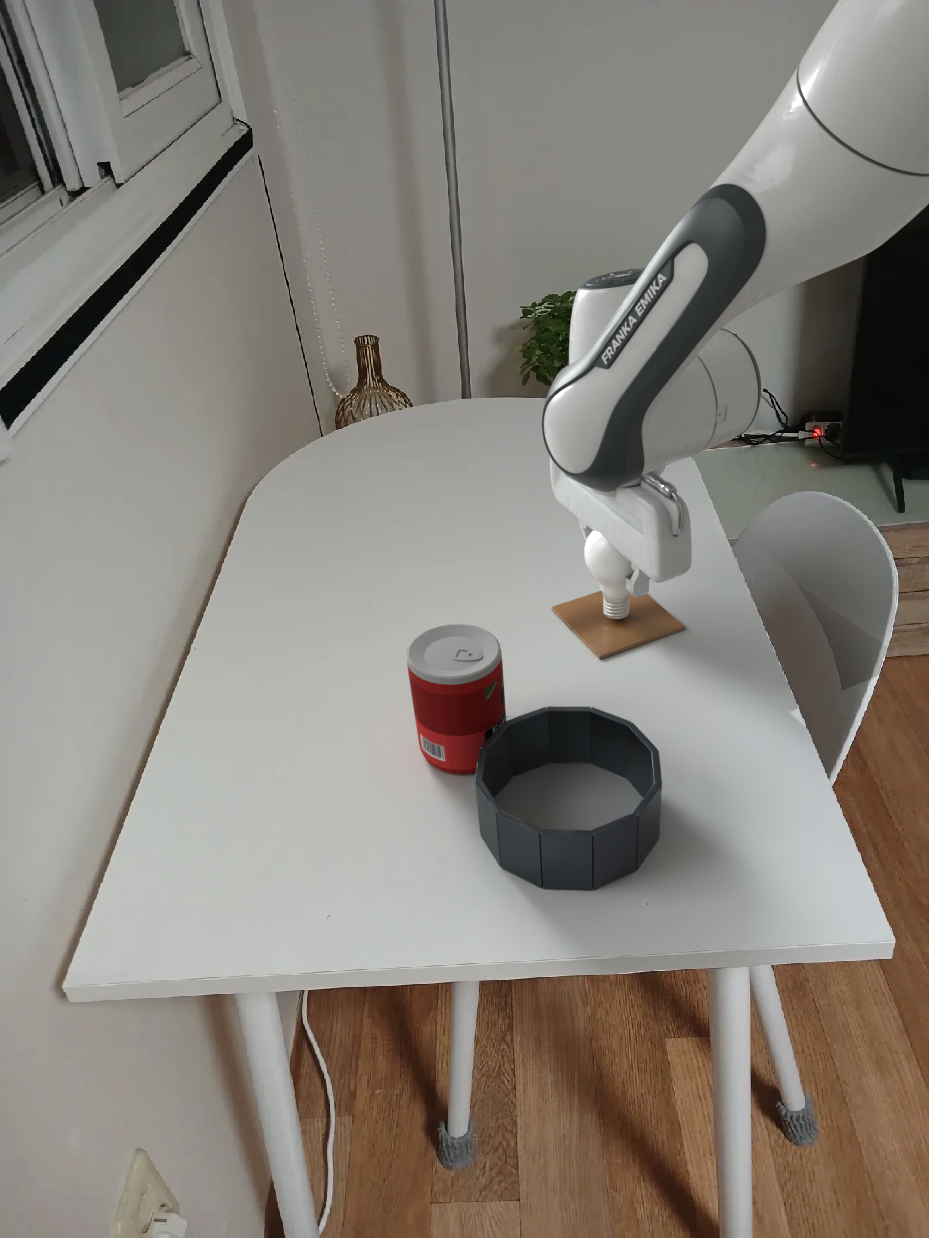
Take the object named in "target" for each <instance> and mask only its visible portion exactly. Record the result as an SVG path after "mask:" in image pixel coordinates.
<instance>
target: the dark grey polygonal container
mask: <svg viewBox="0 0 929 1238" xmlns="http://www.w3.org/2000/svg"><path fill="white" fill-rule="evenodd" d="M547 764H591V765H592V766H595V767H597V768H600V769H603V770H605V771H607V772H610V773H612V774H614V775H617V776H620V777H622V778H625V779H626V780H627V781H628V782H629V784H631V786H632V787H633V788H634V789H635V790H636V792H637V793H638V795H640V796H641V797H642V799H641V800H640V802H639V803H638V804H637V805H636V807H635V809H634V810H633V811H632V812H631V813H628V814H626V815H624V816H621V817H619V818H616V819H613V820H612V821H609V822H606V823H605V824H602V825H599V826H597V827H595V828H592V829H566V828H564V829H563V828H541V827H539V826H537V825H535V824H533V823H531V822H528V821H526V820H524V819H522V818H520V817H518V816H516V815H513V814H511V813H510V812H507V811H505V810H503V809H502V808H501V806H500V804H499V803H498V801H496V799H495V798H496V797H497V796H498V795H499V794H500V792H502V790H503V789H504V788H505V787H506V786H507V785H508V784H509V782H510V781H511V780H512V779H513V778H514V777H516V776H519V775H522V774H524V773H528V772H529V771H532V770H534V769H537V768H540V767H542V766H545V765H547ZM662 779H663V778H662V769H661V757H660V750H659V749H658V748H657V747H656V746H655V745H654V744H653V743H652V741H651V740H650V739H649V738H648V737H647V736H646V735H645V734H644V733H643V732H642V731H641V730H640V728H639V727H638V726H637V725H636V724H635V723H634V722H632V721H631V720H629V719H626V718H623V717H620V716H618V715H615V714H612V713H611V712H607V711H604V710H602V709H599V708H596V707H594V706H551V705H549V706H543V707H541V708H538V709H535V710H533V711H529V712H526V713H524V714H521V715H519V716H516V717H513V718H510V719H506V722H504V723H503V724H502V725H501V726H500V727H499V728H498V729H497V731H496V732H495V733H494V734H493V735H492V736H491V737H490V738H489V739H488V740H487V741H486V742H485V743H484V744H483V745H482V746H481V747H480V749H479V753H478V761H477V768H476V773H475V776H474V786H475V787H474V788H475V797H476V798H475V799H476V806H477V807H476V808H477V817H478V826H479V834H480V838H481V839H482V840H483V842H484V843H485V845H486V847H487V848H488V850H489V852H490V853H491V856H492V857H493V858H494V860H495V861H496V863H497V864H498V866H499V867H500V868H501V869H502V870H504V871H506V872H507V873H510V874H512V875H513V876H515V877H518V878H520V879H521V880H524V881H525V882H527V883H530V884H532V885H534V886H536V887H537V888H540V889H543V890H563V891H596V890H598V889H600V888H602V887H604V886H607V885H609V884H611V883H613V882H616V881H618V880H620V879H623V878H625V877H627V876H630V875H632V874H634V873H636V872H637V871H638V870H639V869H640V867H641V866H642V864H643V863H644V861H645V860H646V859H647V857H648V856H649V854H650V853H651V851H652V850H653V849H654V847H655V846H656V845H657V843H658V841H659V839H660V831H661V830H660V828H661V811H662V810H661V809H662V795H663V794H662V792H663V780H662Z"/></svg>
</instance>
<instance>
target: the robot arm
mask: <svg viewBox="0 0 929 1238" xmlns="http://www.w3.org/2000/svg"><path fill="white" fill-rule="evenodd" d="M928 205H929V0H837V2H836V3H835V5H834V6H833V9H832V10H831V12H830V13H829V14H828V16H827V18H826V19H825V20H824V22H823V24H822V25H821V27H820V28H819V30H818V31H817V33H816V34H815V36H814V38H813V39H812V41H811V42H810V45H809V47H808V48H807V49H806V51H805V53H804V55H803V56H802V58H801V60H800V61H799V63H798V65H797V67H795V70H794V72H793V74H792V75H791V76H790V78H789V80H788V81H787V83H786V85H785V86H784V88H783V89H782V91H781V93H780V94H779V96H778V98H777V99H776V100H775V102H774V104H773V105H772V106H771V108H770V109H769V110H768V112H767V114H766V115H765V116H764V118H763V119H762V120H761V122H760V123H759V125H758V127H757V128H756V129H755V131H754V132H753V133H752V134H751V136H750V137H749V139H748V140H747V141H746V143H745V144H744V146H743V147H742V148H741V150H740V151H739V152H738V154H737V155H736V156H735V157H734V159H732V161H731V162H730V163H729V165H727V167H726V168H725V169H724V170H723V172H722V173H721V174H720V175H719V176H718V177H717V179H715V181H714V182H713V183H712V184H711V185H710V187H709V188H708V189H707V190H706V192H704V193H703V194H701V196H700V198H699V199H697V201H696V202H695V203H694V204H693V205H692V207H691V208H690V209H689V210H688V211H687V212H686V213H685V215H684V216H683V217H682V218H681V219H680V220H679V222H678V223H677V224H676V225H675V227H674V228H673V229H672V230H671V232H670V233H669V234H668V235H667V237H666V238H665V240H664V241H663V242H662V244H661V245H660V246H659V248H658V249H657V251H656V252H655V253H654V255H653V256H652V258H651V259H650V261H649V263H647V265H646V267H642V268H629V269H627V270H620V271H619V270H617V271H613V272H609V273H605V274H602V275H601V274H600V275H598V276H596V277H592V278H590V279H588V280H587V281H585V282H584V283H583V284H581V285H580V287H579V288H578V289H577V291H576V294H575V296H574V300H573V304H572V308H571V309H572V310H571V316H570V326H569V341H568V342H569V345H568V365H566V366H564V367H563V368H562V369H561V370H560V371H559V372H558V373H557V374H556V376H555V377H554V379H553V381H552V383H551V385H550V387H549V390H548V393H547V395H546V398H545V401H544V405H543V406H544V407H543V411H542V415H541V433H542V439H543V442H544V445H545V449H546V451H547V453H548V455H549V473H550V484H551V488H552V492H553V494H554V497H555V500H556V501H557V502H558V503H559V504H561V505H562V506H563V508H565V509H566V510H568V511H569V512H570V513H571V514H572V515H574V516H575V517H576V518H577V519H578V524H579V528H580V532H581V533H582V537H583V539H584V542H585V543H586V540H587V538H588V536H589V534H590V533H591V532H592V531H598V532H599V533H601V534H602V535H603V536H604V537H605V538H606V540H607V541H608V542H609V544H610V545H611V546H612V547H613V548H615V549H616V550H617V551H618V552H619V553H621V554H622V555H623V556H624V557H625V558H627V559H628V560H629V561H630V562H631V567H632V569H633V570H635V571H634V573H633V575H630V576H627V577H626V586H625V589H626V590H627V591H628V592H629V593H630V594H631V595H632V596H633V597H635V598H637V597H640V596H643V595H646V594H648V593H649V591H650V580H652V581H653V582H654V583H664V582H666V581H670V580H673V579H676V578H679V577H681V576H684V575H685V574H686V573H687V572H688V571H690V569H691V566H692V551H693V550H692V549H693V547H692V525H691V517H690V513H689V512H690V511H689V508H688V505H687V503H686V502H685V500H684V499H683V498H682V497H681V496H680V495H679V494H678V489H677V487H676V486H675V485H674V484H673V483H672V482H669V481H667V480H666V479H664V478H663V477H661V475H662V474H663V473H664V471H665V469H666V466H670V465H673V464H674V463H677V462H680V461H682V460H684V459H687V458H690V457H692V456H693V457H694V456H695V455H697V454H699V453H702V452H705V451H707V450H709V449H713V448H714V447H715V448H716V447H717V446H719V445H722V444H724V443H727V442H728V441H731V440H733V439H734V438H737V437H739V436H740V435H743V434H744V433H746V431H748V429H749V428H750V427H751V426H752V424H753V423H754V421H755V419H756V417H757V414H758V411H759V408H760V405H761V398H762V377H761V373H760V367H759V365H758V361H757V359H756V357H755V355H754V353H753V351H752V350H751V348H750V347H749V346H748V344H746V342H745V341H744V340H742V339H741V338H740V337H739V336H738V335H737V334H735V333H734V332H732V331H730V330H728V329H726V328H723V327H725V326H726V325H728V324H729V322H731V321H732V320H733V319H735V318H737V317H739V316H740V315H741V314H742V313H744V312H746V311H748V310H749V309H750V308H752V307H754V306H756V305H758V304H759V303H761V302H763V301H764V300H767V299H769V298H771V297H773V296H775V295H777V294H779V293H781V292H783V291H786V290H788V289H790V288H792V287H795V286H797V285H799V284H801V283H803V282H806V281H808V280H810V279H813V278H815V277H817V276H820V275H822V274H826V273H828V272H829V271H832V270H834V269H835V270H836V269H837V268H839V267H842V266H843V265H847V264H848V263H852V262H853V261H855V260H857V259H860V258H862V257H864V256H866V255H867V254H870V253H872V252H874V251H875V250H877V249H878V248H879V247H881V246H882V245H883V244H885V243H886V242H887V241H888V240H889V239H891V238H892V237H893V236H895V234H897V233H898V232H899V231H900V230H902V229H903V228H904V227H905V226H906V225H908V223H910V222H911V221H912V220H913V219H915V217H917V216H918V215H919V213H921V212H922V211H923V210H924V209H925V208H926V207H927V206H928Z"/></svg>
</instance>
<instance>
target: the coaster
mask: <svg viewBox="0 0 929 1238" xmlns="http://www.w3.org/2000/svg"><path fill="white" fill-rule="evenodd" d="M629 598H630V599H629V601H630V602H629V614H628V615H627V616H626V617H624V618H621V619H612V618H609V617H607V616H605V615H604V613H603V609H604V608H603V606H604V605H603V599H604V598H603V593H602V592H601V590H599V591H596V592H593V593H590V594H586V595H583V596H580V597H578V598H574V599H571V600H569V601H566V602H562V603H560V604H557V605H556V604H555V605H553V606H551V607H550V610H551V611H552V612H553V613H554V614H555V616H557V618H559V619H560V620H561V622H563V624H564V625H565V626H566V627H567V628H568V629H569V630H570V631H571V632H572V633H573V634H574V635H575V636H576V637H577V638H578V639H579V640H580V641H581V642H582V643H583V644H584V645H585V646H586V647H587V648H588V649H589V650H590V651H591V652H592V653H593V654H594V656H595V657H597V658H598V660H601V659H604V658H607V657H610V656H613V655H616V654H618V653H621V652H625V651H627V650H630V649H633V648H635V647H638V646H641V645H644V644H647V643H650V642H652V641H655V640H658V639H660V638H664V637H666V636H669V635H672V634H675V633H678V632H681V631H683V630H685V625H683V623H681V622H680V621H679V620H678V619H677V618H675V616H673V615H672V614H671V613H669V611H667V610H666V609H665V608H664V607H663V606H662V605H660V603H658V602H657V601H656V600H654V599H653V598H652V597H651V596H650V595H649V594H648V593H647V594H646V595H643V596H640V597H637V598H635V597H633V596H632V595H631V594H630V597H629Z"/></svg>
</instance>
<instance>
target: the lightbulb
mask: <svg viewBox="0 0 929 1238" xmlns="http://www.w3.org/2000/svg"><path fill="white" fill-rule="evenodd" d="M583 557H584V561H585V564H586V566H587V568H588V570H589V572H590V573H591V574H592V575H593V577H594V578H595V579H596V580H597V582H598V585H599V589H600V591H601V592H602V593H603V598H604V599H603V605H604V606H603V608H604V609H603V613H604V615H605V616H607V617H609V618H612V619H621V618H624V617H626V616H627V615H628V614H629V602H630V601H629V599H630V598H629V597H630V593H629V592H628V591H627V590H626V589H625V586H626V577H627V576H630V575H633V573H634V571H635V570H633V569H632V567H631V562H630V561H629V560H628V559H627V558H625V557H624V556H623V555H622V554H621V553H619V552H618V551H617V550H616V549H615V548H613V547H612V546H611V545H610V544H609V542H608V541H607V540H606V538H605V537H604V536H603V535H602V534H601V533H599V532H598V531H592V532H591V533H590V534H589V536H588V538H587V540H586V542H585V544H584V549H583Z"/></svg>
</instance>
